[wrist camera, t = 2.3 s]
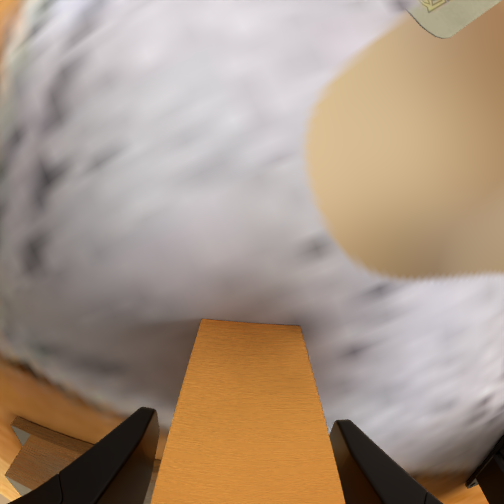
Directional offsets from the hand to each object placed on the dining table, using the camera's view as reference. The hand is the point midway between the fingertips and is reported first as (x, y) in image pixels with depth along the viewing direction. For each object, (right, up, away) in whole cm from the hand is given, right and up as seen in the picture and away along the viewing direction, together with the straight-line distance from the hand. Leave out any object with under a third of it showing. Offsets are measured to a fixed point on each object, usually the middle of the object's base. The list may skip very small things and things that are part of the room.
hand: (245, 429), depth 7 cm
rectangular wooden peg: (0, +1, +2) cm, 2 cm away
